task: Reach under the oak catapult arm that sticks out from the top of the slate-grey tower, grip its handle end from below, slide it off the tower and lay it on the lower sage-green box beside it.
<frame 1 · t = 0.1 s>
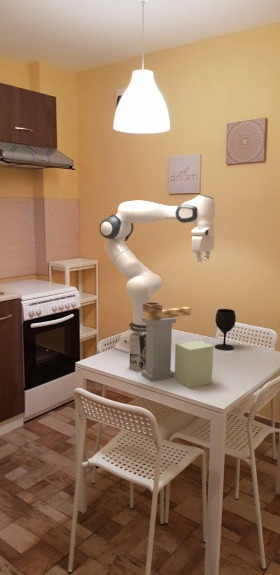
hand: (203, 260, 208), 48 cm above the table, tool pointing down, fingers open, 8 cm apart
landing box: (192, 381, 188), on the table
catapult arm: (168, 316, 191), point 26 cm above the table, touching tower
wine glass: (224, 347, 236), on the table
coffee box: (139, 367, 205), on the table
tower: (157, 375, 194), on the table
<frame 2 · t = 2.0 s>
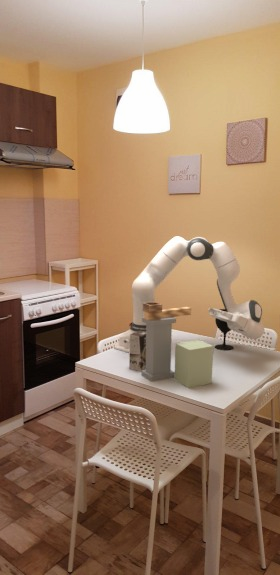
hand: (215, 310, 203), 26 cm above the table, tool pointing upward, fingers open, 8 cm apart
wine glass: (224, 348, 236), on the table, touching arm
everything else where it was.
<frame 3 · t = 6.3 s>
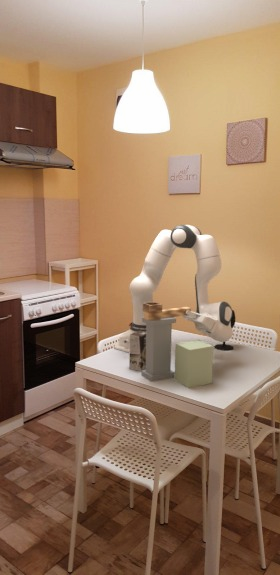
hand: (183, 310, 195), 28 cm above the table, tool pointing upward, fingers closed on catapult arm, 3 cm apart
catapult arm: (168, 316, 191), point 26 cm above the table, touching gripper, tower
wine glass: (223, 347, 236), on the table
everything else where it was.
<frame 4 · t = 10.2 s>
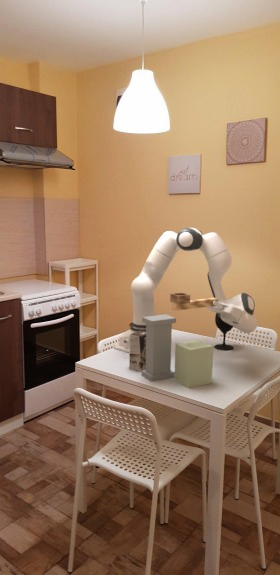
hand: (209, 301, 194), 32 cm above the table, tool pointing upward, fingers closed on catapult arm, 3 cm apart
catapult arm: (195, 307, 191), point 30 cm above the table, touching gripper
everything else where it was.
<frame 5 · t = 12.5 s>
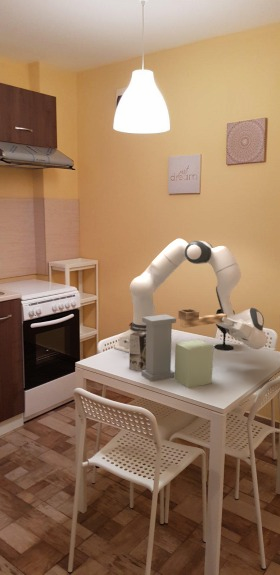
hand: (218, 317, 190), 26 cm above the table, tool pointing upward, fingers closed on catapult arm, 3 cm apart
catapult arm: (204, 323, 186), point 24 cm above the table, touching gripper
everything else where it was.
when the fingers open (19 cm above the table, at t = 14.4 s): catapult arm moves 1 cm, resting on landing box.
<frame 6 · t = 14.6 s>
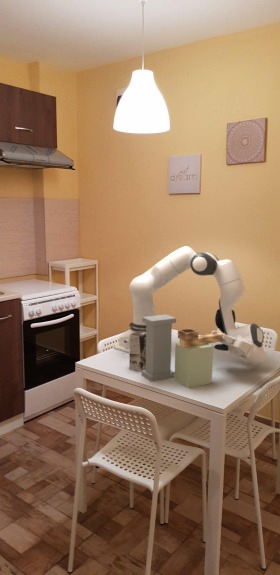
hand: (217, 334, 191), 19 cm above the table, tool pointing upward, fingers open, 5 cm apart
catapult arm: (203, 343, 188), point 16 cm above the table, touching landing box
everything else where it was.
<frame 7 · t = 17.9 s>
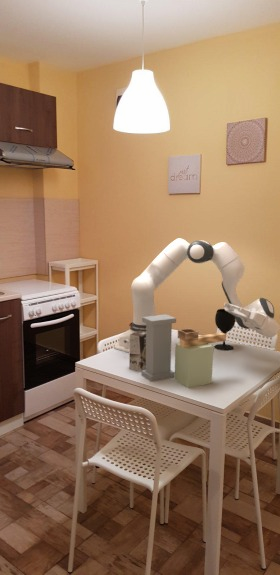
hand: (232, 306, 193), 30 cm above the table, tool pointing upward, fingers open, 8 cm apart
nothing on the table moved.
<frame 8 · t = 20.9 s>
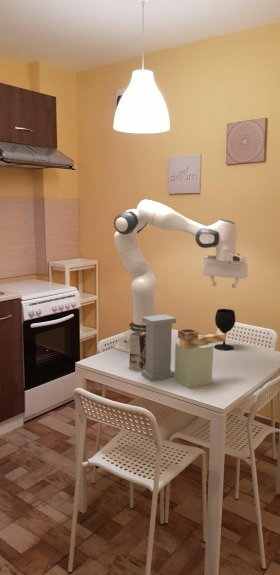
hand: (224, 286, 203), 37 cm above the table, tool pointing down, fingers open, 8 cm apart
nothing on the table moved.
at the end: catapult arm inside the target area on the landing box (0.2 cm from its centre), point 16.0 cm above the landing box's base; catapult arm touching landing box; the gripper is holding nothing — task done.
